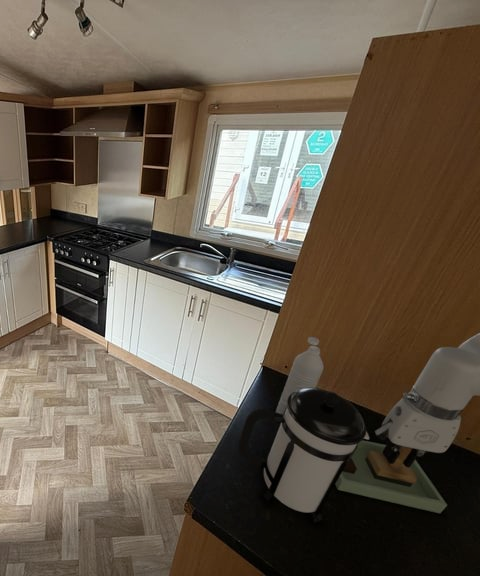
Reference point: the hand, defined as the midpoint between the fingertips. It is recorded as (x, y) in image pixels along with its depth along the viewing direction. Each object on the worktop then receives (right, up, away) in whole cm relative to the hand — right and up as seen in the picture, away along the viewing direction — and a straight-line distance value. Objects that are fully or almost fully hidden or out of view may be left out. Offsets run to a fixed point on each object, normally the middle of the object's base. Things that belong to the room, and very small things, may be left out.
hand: (395, 459), depth 73 cm
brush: (0, -4, +2) cm, 5 cm away
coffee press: (-27, -7, -1) cm, 28 cm away
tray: (-3, -5, +3) cm, 6 cm away
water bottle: (-14, +3, +19) cm, 23 cm away
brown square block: (-10, -4, +4) cm, 11 cm away
